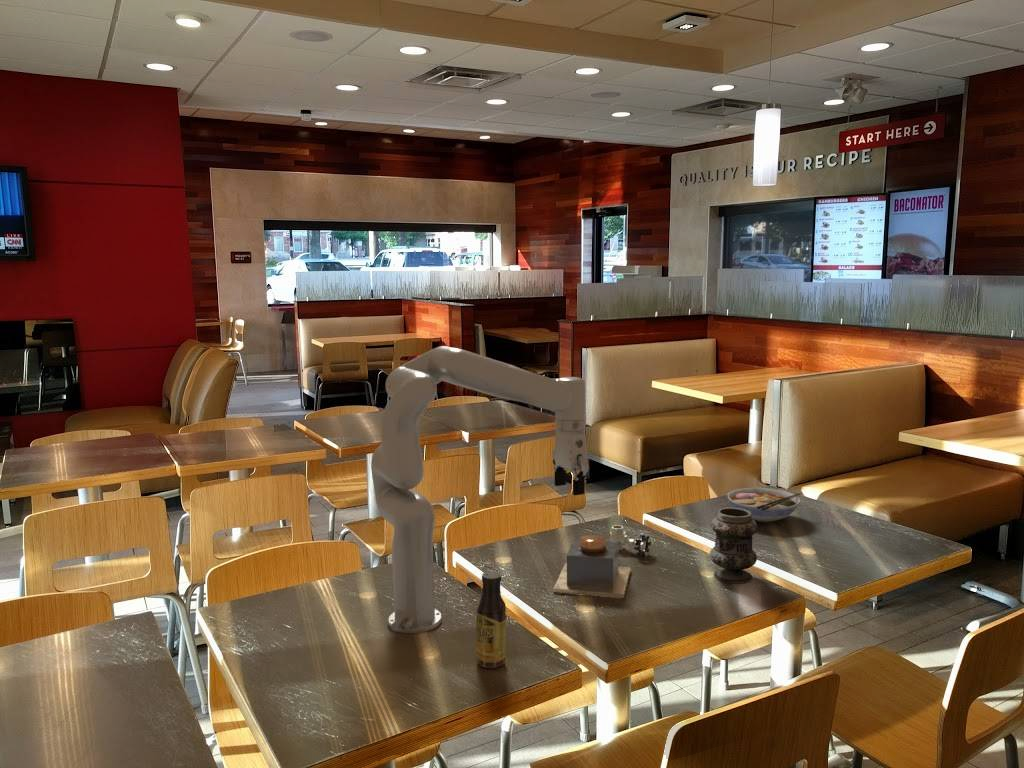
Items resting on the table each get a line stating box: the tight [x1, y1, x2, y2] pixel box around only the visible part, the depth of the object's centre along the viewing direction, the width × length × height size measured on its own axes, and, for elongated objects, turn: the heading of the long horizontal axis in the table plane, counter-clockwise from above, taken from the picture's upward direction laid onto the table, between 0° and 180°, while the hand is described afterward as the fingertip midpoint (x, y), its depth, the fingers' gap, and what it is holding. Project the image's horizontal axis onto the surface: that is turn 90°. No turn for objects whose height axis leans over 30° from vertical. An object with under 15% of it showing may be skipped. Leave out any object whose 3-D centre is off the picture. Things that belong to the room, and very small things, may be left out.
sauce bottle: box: [475, 570, 507, 670], centre depth 164 cm, size 7×6×20 cm
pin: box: [578, 534, 607, 553], centre depth 206 cm, size 7×7×10 cm
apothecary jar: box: [709, 507, 758, 584], centre depth 208 cm, size 12×12×18 cm
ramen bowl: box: [727, 487, 803, 523], centre depth 255 cm, size 25×23×8 cm
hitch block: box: [552, 539, 631, 599], centre depth 207 cm, size 18×18×9 cm
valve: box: [610, 524, 652, 558], centre depth 229 cm, size 7×7×12 cm
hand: (569, 489), depth 204 cm, fingers open, 9 cm apart
